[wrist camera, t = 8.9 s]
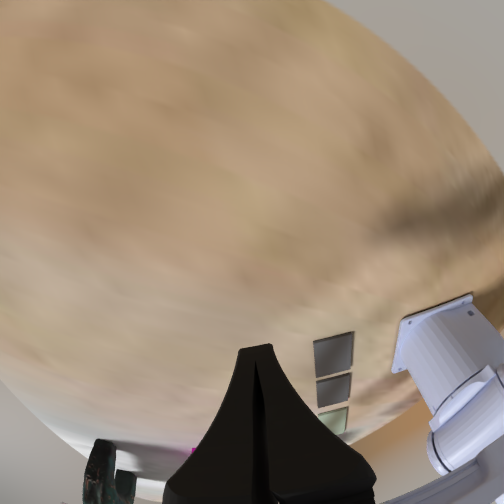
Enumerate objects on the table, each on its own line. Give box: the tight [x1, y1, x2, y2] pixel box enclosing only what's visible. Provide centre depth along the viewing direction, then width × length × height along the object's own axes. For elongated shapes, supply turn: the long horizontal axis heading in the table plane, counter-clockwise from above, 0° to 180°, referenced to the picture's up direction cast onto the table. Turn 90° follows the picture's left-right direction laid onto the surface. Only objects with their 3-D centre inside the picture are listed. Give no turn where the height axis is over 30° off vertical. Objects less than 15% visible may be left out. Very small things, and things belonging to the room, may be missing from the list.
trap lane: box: [313, 332, 352, 435], centre depth 30 cm, size 21×29×2 cm
